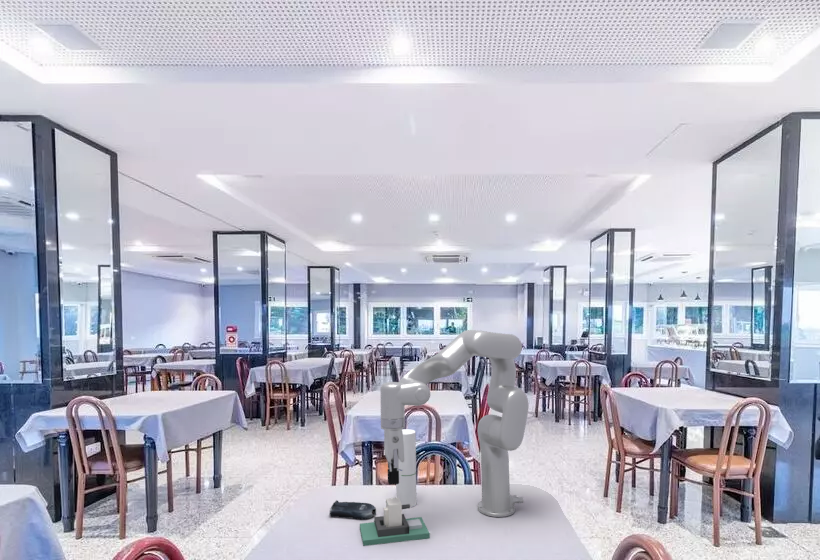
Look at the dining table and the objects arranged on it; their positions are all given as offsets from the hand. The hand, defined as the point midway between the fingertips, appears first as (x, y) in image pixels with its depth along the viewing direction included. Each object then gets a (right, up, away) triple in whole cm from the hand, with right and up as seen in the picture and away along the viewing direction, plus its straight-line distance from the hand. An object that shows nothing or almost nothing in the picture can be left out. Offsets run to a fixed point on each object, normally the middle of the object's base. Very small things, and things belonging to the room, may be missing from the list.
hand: (393, 482), depth 140 cm
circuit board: (0, -15, -1) cm, 15 cm away
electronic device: (-14, -17, +13) cm, 25 cm away
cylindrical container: (+4, -17, +21) cm, 27 cm away
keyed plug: (0, -14, -1) cm, 14 cm away
